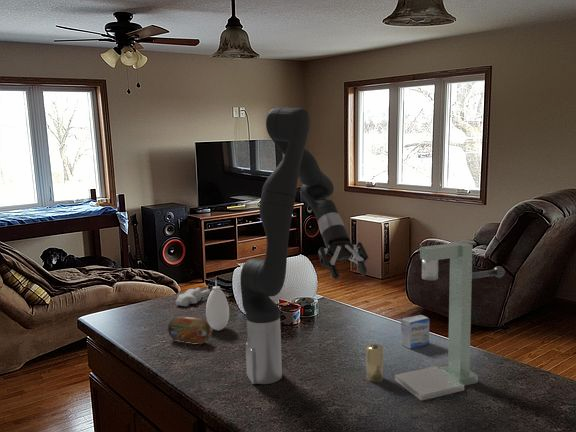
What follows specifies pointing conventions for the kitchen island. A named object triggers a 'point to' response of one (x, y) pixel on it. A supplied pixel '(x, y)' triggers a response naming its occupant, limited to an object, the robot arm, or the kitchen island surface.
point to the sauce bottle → (217, 309)
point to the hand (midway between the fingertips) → (351, 276)
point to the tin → (189, 329)
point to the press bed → (458, 369)
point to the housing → (374, 363)
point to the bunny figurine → (191, 296)
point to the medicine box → (415, 331)
